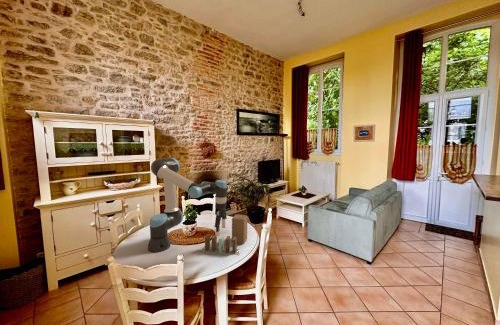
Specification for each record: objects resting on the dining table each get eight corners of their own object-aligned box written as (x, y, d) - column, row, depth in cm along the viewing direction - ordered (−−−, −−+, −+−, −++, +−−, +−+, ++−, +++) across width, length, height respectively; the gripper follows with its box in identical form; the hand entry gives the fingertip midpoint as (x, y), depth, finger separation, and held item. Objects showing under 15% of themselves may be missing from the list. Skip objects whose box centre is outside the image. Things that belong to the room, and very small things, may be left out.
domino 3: (225, 252, 148) (225, 239, 147) (227, 249, 153) (227, 235, 152) (228, 253, 147) (228, 239, 147) (230, 249, 152) (230, 236, 151)
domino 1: (205, 250, 150) (204, 237, 149) (207, 247, 155) (207, 234, 154) (207, 251, 150) (207, 237, 149) (210, 247, 155) (210, 234, 154)
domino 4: (232, 253, 147) (232, 239, 146) (234, 249, 152) (234, 236, 151) (235, 253, 147) (235, 239, 146) (236, 250, 152) (236, 236, 151)
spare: (218, 252, 149) (218, 238, 148) (220, 248, 153) (220, 235, 153) (221, 252, 148) (221, 238, 147) (223, 248, 153) (223, 235, 152)
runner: (200, 251, 149) (200, 251, 149) (204, 246, 157) (204, 246, 157) (238, 255, 145) (238, 255, 145) (241, 249, 153) (241, 249, 153)
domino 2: (211, 251, 149) (211, 237, 148) (214, 247, 154) (214, 234, 153) (214, 251, 149) (214, 238, 148) (216, 248, 154) (216, 235, 153)
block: (247, 239, 170) (247, 215, 168) (243, 245, 160) (244, 219, 158) (235, 237, 172) (235, 213, 170) (231, 243, 163) (231, 218, 161)
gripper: (220, 208, 135) (220, 240, 137) (230, 198, 159) (230, 225, 161) (209, 207, 136) (209, 239, 138) (221, 197, 160) (220, 224, 162)
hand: (220, 231), depth 150 cm, fingers open, 13 cm apart
